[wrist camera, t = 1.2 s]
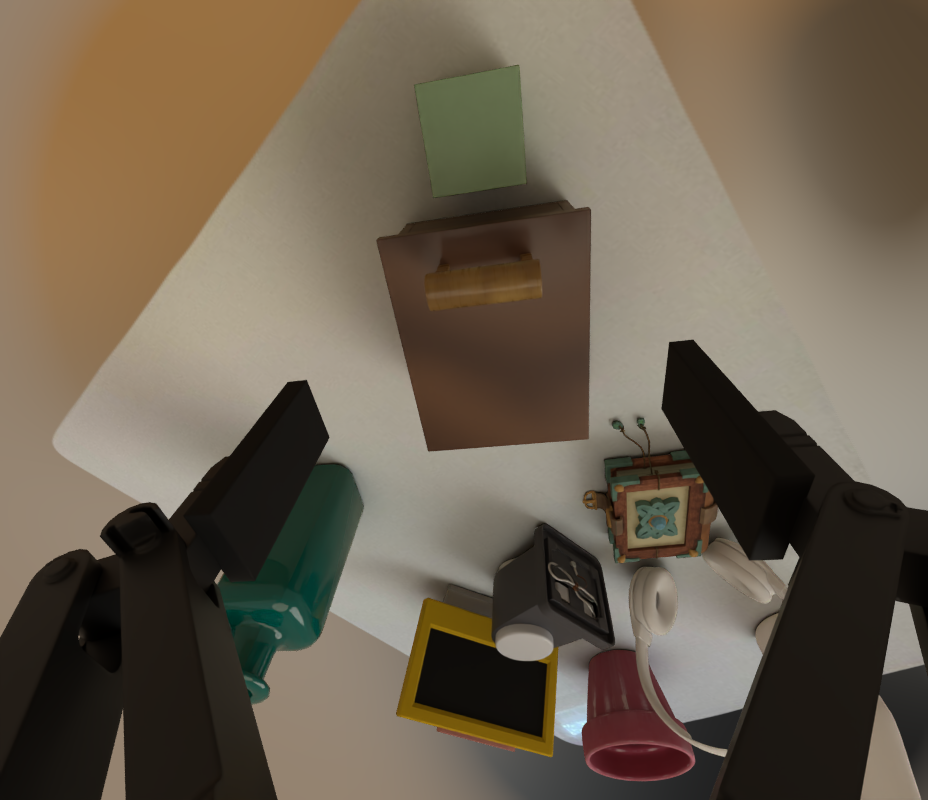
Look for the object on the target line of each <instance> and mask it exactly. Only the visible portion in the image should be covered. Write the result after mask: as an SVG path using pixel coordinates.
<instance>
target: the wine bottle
mask: <svg viewBox="0 0 928 800" xmlns="http://www.w3.org/2000/svg"><path fill="white" fill-rule="evenodd" d="M777 616H778V613H777V614H775V615H772V616H770V617H768V618H766V619H765V620H763V621H762V622H761V623H760V624H759V626H758V627H757V629H756V633H755V637H756V641H757V644H758V646H759V648H760V650H761V652H762V654H764V651H765V648H766V645H767V643H768V640H769V637H770V635H771V632H772V629H773V627H774V624H775V621H776V619H777ZM860 800H921V797H920V794H919V791H918V788H917V785H916V782H915V779H914V776H913V773H912V770H911V767H910V763H909V760H908V757H907V754H906V750H905V748H904V744H903V741H902V738H901V735H900V733H899V730H898V727H897V725H896V722H895V720H894V718H893V716H892V714H891V712H890V711H889V709H888V708H887V706H886V705H885V703H884V702H883V700H882V699H881V697H880V696H878V702H877V708H876V714H875V719H874V725H873V731H872V736H871V742H870V748H869V754H868V759H867V765H866V771H865V776H864V782H863V788H862V794H861V799H860Z"/></svg>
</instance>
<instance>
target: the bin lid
mask: <svg viewBox="0 0 928 800" xmlns="http://www.w3.org/2000/svg"><path fill="white" fill-rule="evenodd" d="M377 245H378V249H379V253H380V257H381V261H382V265H383V269H384V274H385V278H386V282H387V286H388V290H389V294H390V298H391V302H392V306H393V310H394V314H395V318H396V322H397V326H398V330H399V334H400V339H401V343H402V347H403V351H404V355H405V359H406V363H407V367H408V371H409V375H410V379H411V383H412V387H413V391H414V395H415V399H416V404H417V408H418V412H419V416H420V420H421V424H422V428H423V432H424V436H425V440H426V444H427V448H428V451H442V450H455V449H468V448H480V447H493V446H506V445H519V444H532V443H545V442H558V441H571V440H583V439H589V357H590V253H591V209H590V208H589V207H584V208H577V209H570V210H563V211H557V212H550V213H543V214H536V215H529V216H522V217H515V218H508V219H501V220H494V221H488V222H481V223H474V224H467V225H460V226H453V227H446V228H439V229H432V230H425V231H419V232H412V233H405V234H398V235H391V236H384V237H379V238H378V239H377Z"/></svg>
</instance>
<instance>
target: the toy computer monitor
mask: <svg viewBox="0 0 928 800" xmlns="http://www.w3.org/2000/svg"><path fill="white" fill-rule="evenodd" d="M492 607H493V598H490V597H487V596H484V595H481V594H478V593H475V592H472V591H469V590H466V589H463V588H460V587H457V586H454V585H451V584H450V585H449V587H448V589H447V592H446V595H445V598H444V601H443V602H440V601H437V600H434V599H431V598H426V599H424V600H423V604H422V609H421V613H420V617H419V621H418V625H417V629H416V633H415V637H414V642H413V646H412V650H411V654H410V658H409V662H408V667H407V671H406V675H405V679H404V683H403V687H402V691H401V696H400V700H399V704H398V708H397V712H396V715H397V716H399V717H403V718H407V719H410V720H414V721H418V722H422V723H425V724H429V725H433V726H437V731H438V732H441V733H445V734H449V735H453V736H457V737H460V738H465V739H468V740H472V741H475V742H479V743H483V744H487V745H490V746H494V747H498V748H502V749H506V750H509V751H513V752H515V748H519V749H522V750H526V751H530V752H534V753H538V754H542V755H545V756H549V757H552V756H553V740H554V722H555V703H556V684H557V665H558V647H556V648H553V651H552V653H551V654H550V655H549V656H547V657H545V658H543V659H540V660H535V661H520V660H514V659H511V658H508V657H506V656H504V655H502V654H501V653H500V652H499V651H498V650H497V648H496V644H495V643H494V642H493V640H492V637H491V632H492Z"/></svg>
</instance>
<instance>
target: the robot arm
mask: <svg viewBox="0 0 928 800" xmlns="http://www.w3.org/2000/svg"><path fill="white" fill-rule="evenodd" d="M662 410H663V412H664V414H665V416H666V417H667V419H668V421H669V423H670V424H671V426H672V428H673V430H674V431H675V433H676V435H677V436H678V438H679V440H680V442H681V443H682V445H683V447H684V449H685V450H686V452H687V454H688V456H689V457H690V459H691V461H692V462H693V464H694V466H695V468H696V469H697V471H698V473H699V475H700V476H701V478H702V480H703V482H704V483H705V485H706V487H707V488H708V490H709V492H710V494H711V495H712V497H713V499H714V501H715V502H716V504H717V506H718V507H719V509H720V511H721V513H722V514H723V516H724V518H725V520H726V521H727V523H728V525H729V527H730V528H731V530H732V532H733V533H734V535H735V537H736V539H737V540H738V542H739V544H740V546H741V547H742V549H743V551H744V553H745V554H746V556H747V558H748V559H749V561H753V560H778V559H783V558H784V555H785V553H786V550H787V548H788V545H789V543H790V544H791V546H792V547H793V549H794V550H795V551H796V553H797V554H798V556H799V557H800V558H799V560H798V562H797V565H796V567H795V570H794V572H793V574H792V577H791V579H790V582H789V584H788V585H789V586H788V589H787V592H786V594H785V597H784V600H783V602H782V605H781V608H780V610H779V613H778V616H777V619H776V621H775V624H774V627H773V629H772V632H771V635H770V637H769V640H768V643H767V645H766V648H765V651H764V654H763V656H762V659H761V662H760V664H759V667H758V670H757V672H756V675H755V678H754V680H753V683H752V686H751V689H750V691H749V694H748V697H747V699H746V702H745V705H744V707H743V710H742V713H741V715H740V718H739V721H738V724H737V726H736V729H735V732H734V734H733V737H732V740H731V742H730V745H729V748H728V750H727V753H726V756H725V759H724V761H723V764H722V767H721V769H720V772H719V775H718V777H717V780H716V783H715V786H714V788H713V791H712V794H711V796H710V799H709V800H860V799H861V794H862V788H863V782H864V776H865V771H866V765H867V759H868V754H869V748H870V742H871V736H872V731H873V725H874V719H875V714H876V708H877V702H878V696H879V690H880V685H881V679H882V674H883V668H884V662H885V656H886V651H887V645H888V639H889V633H890V628H891V622H892V616H893V611H894V605H895V601H899V602H904V603H908V604H909V606H910V609H911V613H912V617H913V621H914V625H915V629H916V633H917V637H918V641H919V644H920V648H921V652H922V656H923V660H924V664H925V667H926V672H927V676H928V511H926V510H920V509H913V508H908V507H906V506H905V505H904V504H903V503H902V502H901V500H899V499H898V498H897V497H895V496H893V495H892V494H890V493H889V492H887V491H885V490H883V489H880V488H878V487H876V486H873V485H870V484H865V483H860V482H855V481H854V480H853V479H852V478H851V477H850V476H849V475H848V474H847V473H846V472H845V471H844V470H843V469H842V468H841V467H840V466H839V465H838V464H837V463H836V462H835V461H834V460H833V459H832V458H831V457H830V456H829V455H828V454H827V453H826V452H825V451H824V450H823V449H822V448H821V447H820V446H817V443H816V442H815V441H814V440H813V439H812V438H811V437H810V436H809V435H808V436H807V433H806V432H805V431H804V430H803V429H802V428H801V427H800V426H799V425H798V424H797V423H796V422H795V421H794V420H792V419H791V418H789V417H787V416H785V415H783V414H781V413H779V412H778V411H776V410H773V411H761V412H758V411H757V410H756V409H755V408H754V407H753V406H752V404H751V403H750V402H749V401H748V400H747V399H746V398H745V397H744V396H743V395H742V393H741V392H740V391H739V390H738V389H737V388H736V387H735V386H734V385H733V383H732V382H731V381H730V380H729V379H728V378H727V377H726V376H725V375H724V373H723V372H722V371H721V370H720V369H719V368H718V367H717V366H716V365H715V363H714V362H713V361H712V360H711V359H710V358H709V357H708V356H707V355H706V353H705V352H704V351H703V350H702V349H701V348H700V347H699V346H698V345H697V343H696V342H695V341H694V340H685V341H676V342H669V349H668V358H667V366H666V375H665V383H664V392H663V401H662ZM328 439H329V435H328V432H327V430H326V427H325V425H324V422H323V420H322V417H321V415H320V412H319V410H318V407H317V405H316V402H315V400H314V397H313V395H312V392H311V390H310V387H309V385H308V382H307V380H303V381H293V382H287V384H286V385H285V386H284V388H283V389H282V390H281V391H280V393H279V394H278V395H277V396H276V398H275V399H274V400H273V402H272V403H271V404H270V405H269V407H268V408H267V409H266V411H265V412H264V413H263V414H262V416H261V417H260V418H259V419H258V421H257V422H256V423H255V425H254V426H253V427H252V428H251V430H250V431H249V432H248V433H247V435H246V436H245V437H244V439H243V440H242V441H241V442H240V444H239V445H238V446H237V447H236V449H235V450H234V451H233V453H232V454H231V455H230V456H228V457H224V458H223V459H222V460H220V461H219V462H218V463H217V464H215V465H214V466H213V467H211V468H210V470H209V471H208V472H207V473H206V475H205V476H204V477H203V478H202V479H201V480H202V481H201V482H199V483H198V484H197V486H196V487H195V488H194V489H193V490H194V491H193V492H191V493H190V494H189V495H188V497H187V498H186V499H185V500H184V502H183V503H182V504H181V505H180V507H179V508H178V509H177V510H176V511H175V513H174V514H173V515H172V516H171V518H170V519H169V520H168V519H167V517H166V516H165V515H164V513H163V512H162V511H161V509H160V508H159V507H158V505H157V504H155V503H151V502H149V503H142V504H139V505H136V506H133V507H130V508H128V509H127V510H125V511H123V512H121V513H119V514H118V515H117V516H115V517H114V518H113V519H112V520H110V521H109V522H108V523H107V525H106V526H105V527H104V528H103V530H102V532H101V535H100V537H101V538H102V539H103V540H104V542H105V543H106V544H107V545H108V546H109V547H110V548H111V549H112V550H113V551H114V553H115V555H112V556H109V557H106V558H102V559H99V560H96V559H95V558H94V557H93V556H92V555H91V554H90V553H89V551H88V550H83V549H79V550H75V551H71V552H68V553H66V554H64V555H61V556H59V557H57V558H55V559H53V561H50V562H49V563H47V564H46V565H45V566H44V567H43V568H42V569H41V570H40V571H39V572H38V573H37V574H36V575H35V576H34V577H33V579H32V580H31V582H30V583H29V585H28V587H27V589H26V591H25V593H24V595H23V596H22V598H21V600H20V602H19V604H18V606H17V607H16V609H15V611H14V613H13V615H12V617H11V619H10V620H9V622H8V624H7V626H6V628H5V630H4V632H3V634H2V635H1V637H0V800H101V797H102V792H103V788H104V784H105V780H106V776H107V771H108V768H109V764H110V759H111V755H112V751H113V747H114V743H115V739H116V735H117V731H118V727H119V723H120V718H121V714H122V710H123V716H124V752H125V753H124V754H125V790H126V800H277V796H276V792H275V789H274V785H273V781H272V778H271V774H270V770H269V767H268V763H267V760H266V756H265V752H264V749H263V745H262V741H261V738H260V734H259V730H258V727H257V723H256V719H255V716H254V712H253V709H252V705H251V701H250V698H249V694H248V690H247V687H246V683H245V679H244V676H243V672H242V669H241V665H240V661H239V658H238V654H237V650H236V647H235V643H234V639H233V636H232V632H231V628H230V625H229V621H228V618H227V614H226V610H225V607H224V603H223V599H222V596H221V592H220V588H219V587H218V586H217V584H216V583H215V581H214V580H215V578H216V577H217V575H218V573H219V572H220V570H222V571H223V572H224V574H225V575H226V577H227V578H228V579H229V581H230V582H243V581H255V580H256V578H257V576H258V574H259V572H260V571H261V569H262V567H263V565H264V563H265V561H266V559H267V557H268V555H269V553H270V551H271V549H272V547H273V545H274V543H275V542H276V540H277V538H278V536H279V534H280V532H281V530H282V528H283V526H284V524H285V522H286V520H287V518H288V516H289V515H290V513H291V511H292V509H293V507H294V505H295V503H296V501H297V499H298V497H299V495H300V493H301V491H302V489H303V487H304V486H305V484H306V482H307V480H308V478H309V476H310V474H311V472H312V470H313V468H314V466H315V464H316V462H317V460H318V458H319V457H320V455H321V453H322V451H323V449H324V447H325V445H326V443H327V441H328ZM78 636H80V639H79V638H78Z"/></svg>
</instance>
